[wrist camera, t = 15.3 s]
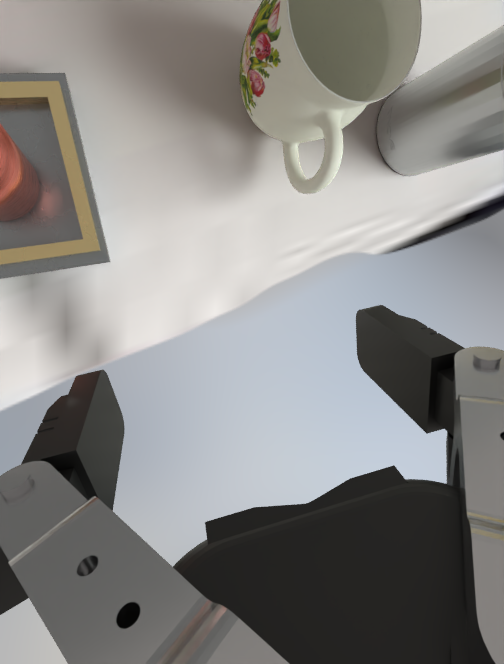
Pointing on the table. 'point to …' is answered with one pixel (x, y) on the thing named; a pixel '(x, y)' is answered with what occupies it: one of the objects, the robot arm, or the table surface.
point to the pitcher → (323, 71)
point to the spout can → (15, 180)
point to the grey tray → (49, 180)
